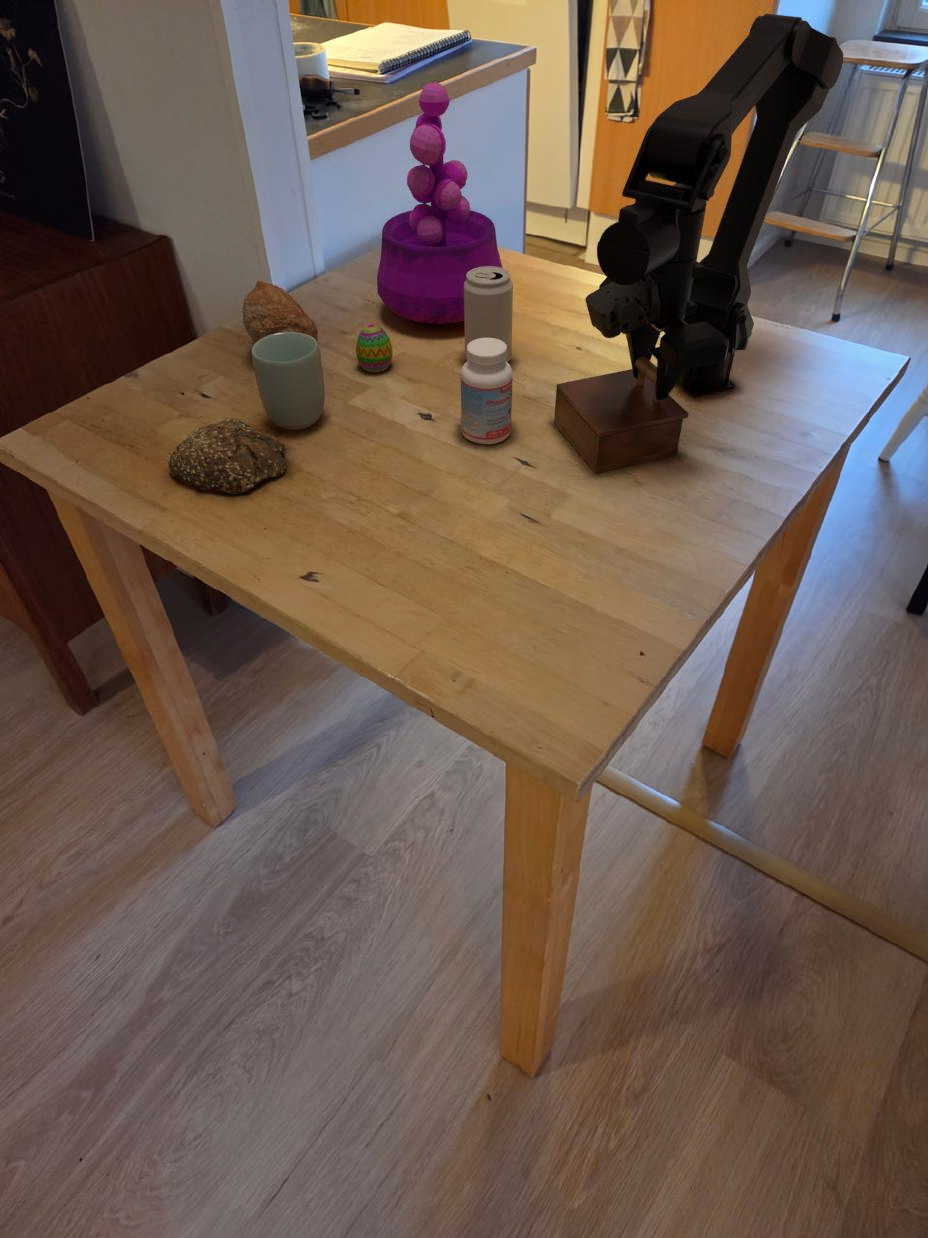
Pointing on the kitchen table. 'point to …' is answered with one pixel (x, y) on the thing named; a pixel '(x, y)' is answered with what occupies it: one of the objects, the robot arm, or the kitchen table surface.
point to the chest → (615, 440)
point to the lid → (621, 400)
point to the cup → (289, 379)
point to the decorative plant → (433, 229)
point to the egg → (374, 349)
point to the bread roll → (227, 457)
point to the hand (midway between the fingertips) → (649, 387)
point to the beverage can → (488, 306)
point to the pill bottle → (486, 392)
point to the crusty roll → (274, 313)
